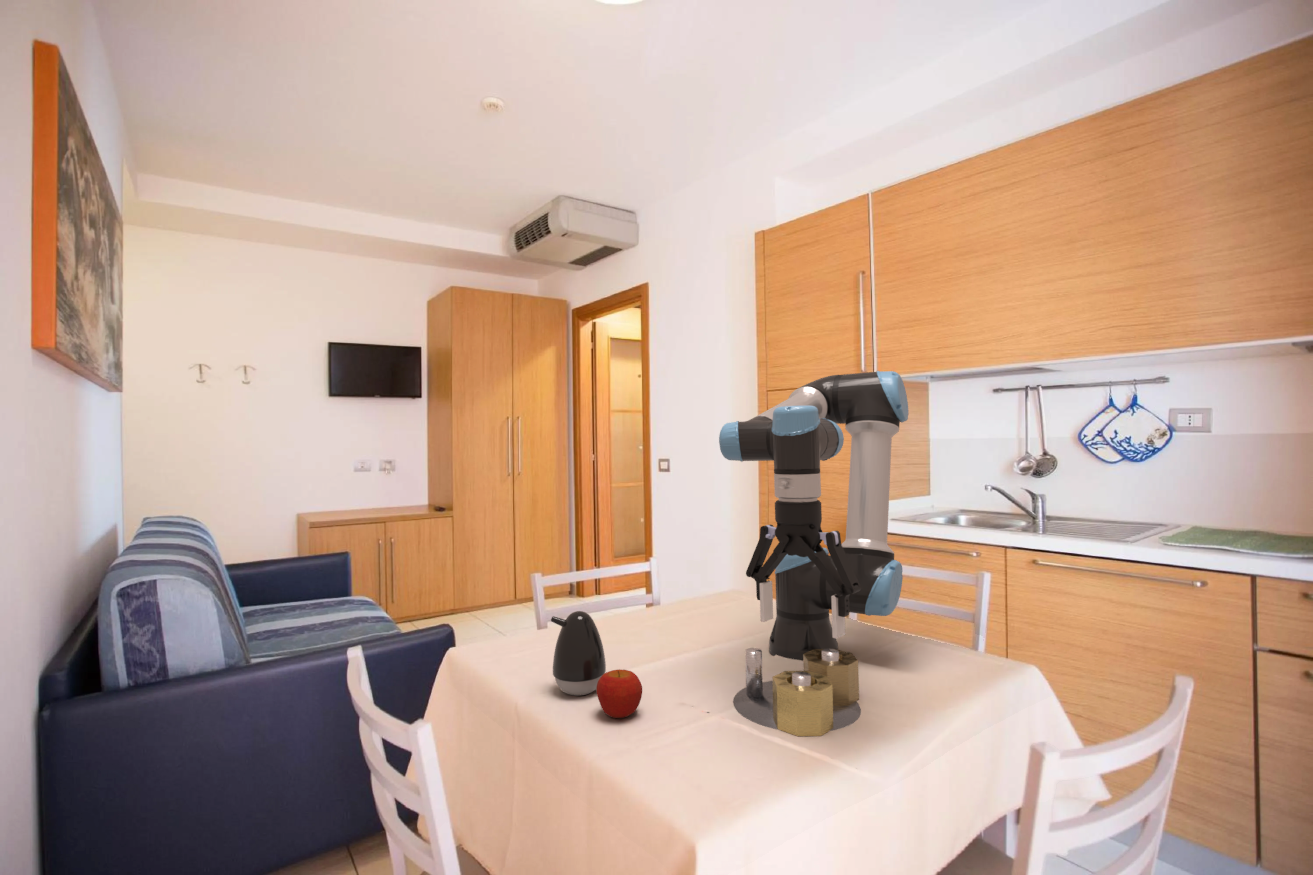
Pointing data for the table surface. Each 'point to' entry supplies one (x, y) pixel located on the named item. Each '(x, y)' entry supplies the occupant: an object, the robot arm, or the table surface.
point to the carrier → (759, 695)
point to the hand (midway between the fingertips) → (801, 627)
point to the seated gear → (836, 674)
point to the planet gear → (803, 705)
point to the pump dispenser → (578, 654)
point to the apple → (619, 693)
